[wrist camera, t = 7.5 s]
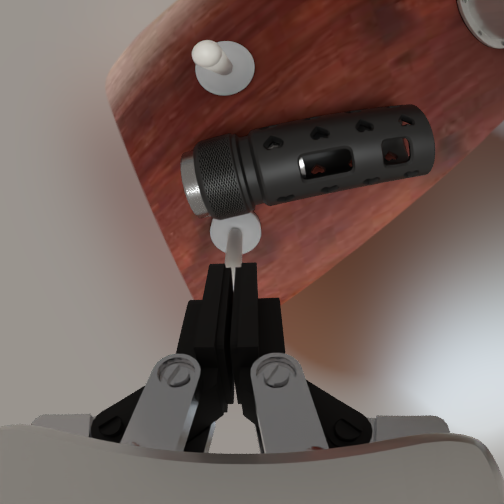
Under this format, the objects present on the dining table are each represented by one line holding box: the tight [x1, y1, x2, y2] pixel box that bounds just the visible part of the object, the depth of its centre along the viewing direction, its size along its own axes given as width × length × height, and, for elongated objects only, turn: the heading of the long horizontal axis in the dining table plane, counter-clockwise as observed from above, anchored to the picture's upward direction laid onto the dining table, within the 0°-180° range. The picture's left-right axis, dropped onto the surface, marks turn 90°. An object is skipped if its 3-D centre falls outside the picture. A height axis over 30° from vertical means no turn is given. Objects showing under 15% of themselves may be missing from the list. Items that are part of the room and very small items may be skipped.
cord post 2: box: [210, 211, 261, 291], centre depth 36 cm, size 7×7×20 cm
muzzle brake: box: [180, 104, 435, 220], centre depth 35 cm, size 10×28×10 cm, turn 104°
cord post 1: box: [192, 40, 255, 95], centre depth 25 cm, size 7×7×20 cm
